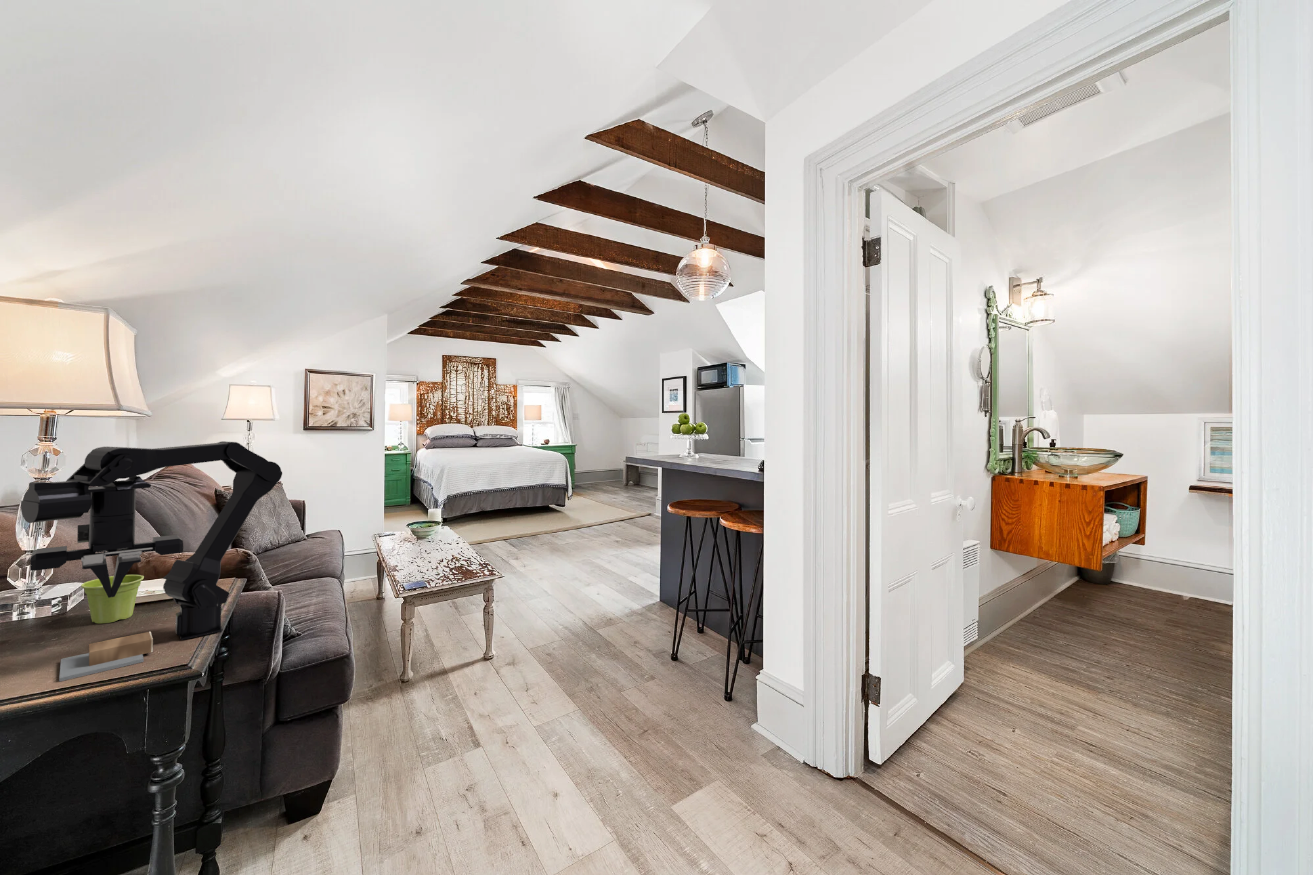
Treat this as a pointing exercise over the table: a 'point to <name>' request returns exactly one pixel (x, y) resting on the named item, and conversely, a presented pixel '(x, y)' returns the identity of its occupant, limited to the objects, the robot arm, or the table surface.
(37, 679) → the table surface
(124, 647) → the slab
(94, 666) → the mat
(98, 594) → the plant pot
